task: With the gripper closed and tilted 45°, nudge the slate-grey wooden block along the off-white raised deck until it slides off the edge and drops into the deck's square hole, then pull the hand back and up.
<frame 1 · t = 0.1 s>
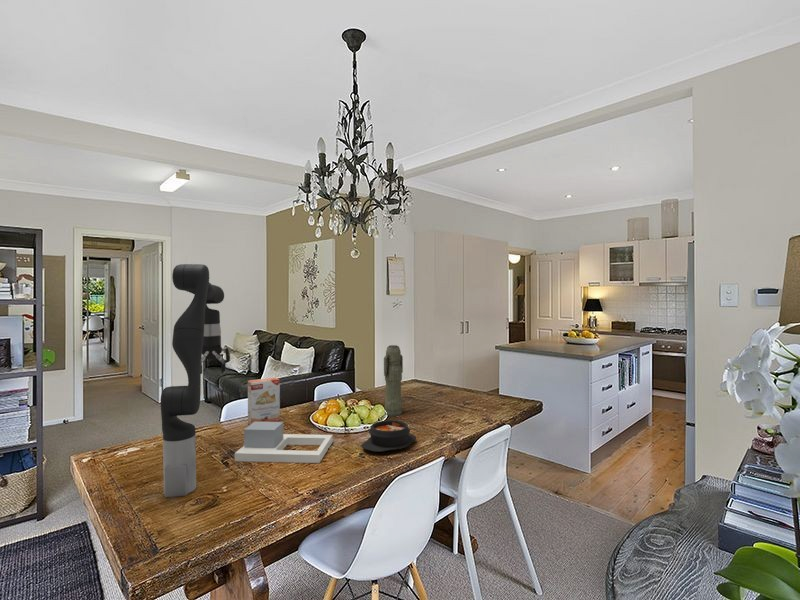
hand: (212, 373, 179), 29 cm above the table, tool pointing down, fingers open, 8 cm apart
cracker box: (264, 422, 206), on the table
slate block: (264, 443, 169), point 3 cm above the table, touching hole deck
casserole: (389, 446, 174), on the table
stone statue: (393, 413, 220), on the table
hole deck: (291, 451, 169), on the table
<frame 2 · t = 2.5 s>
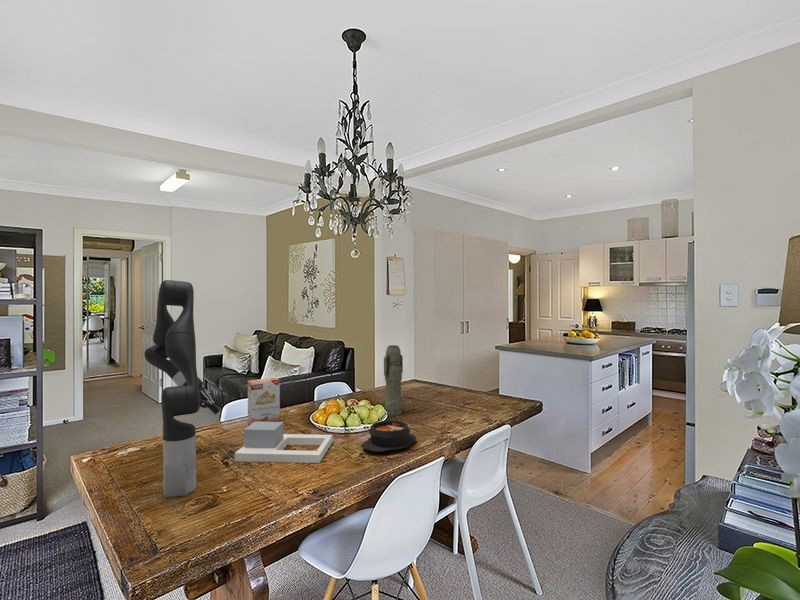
hand: (218, 412, 170), 15 cm above the table, tool tilted 45°, fingers closed
nothing on the table moved.
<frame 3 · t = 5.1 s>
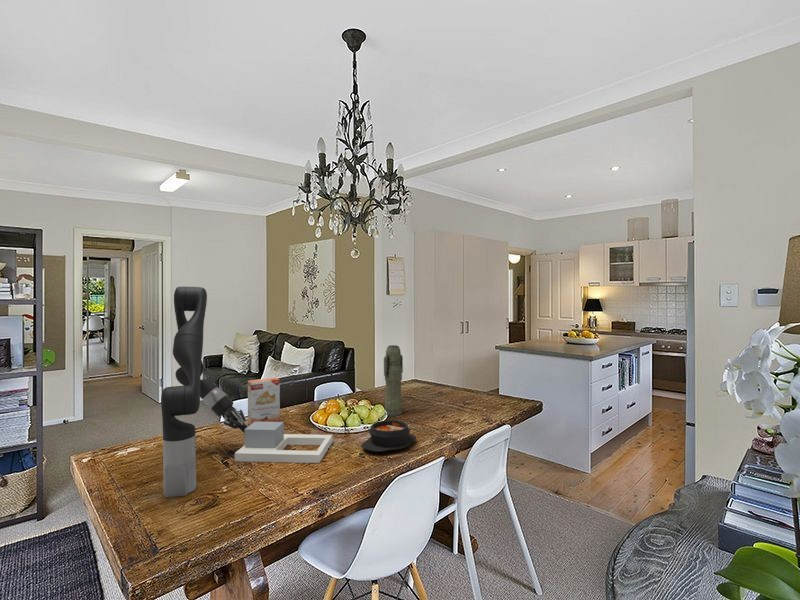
hand: (248, 432, 170), 7 cm above the table, tool tilted 45°, fingers closed
slate block: (264, 443, 169), point 3 cm above the table, touching gripper, hole deck
everything else where it was.
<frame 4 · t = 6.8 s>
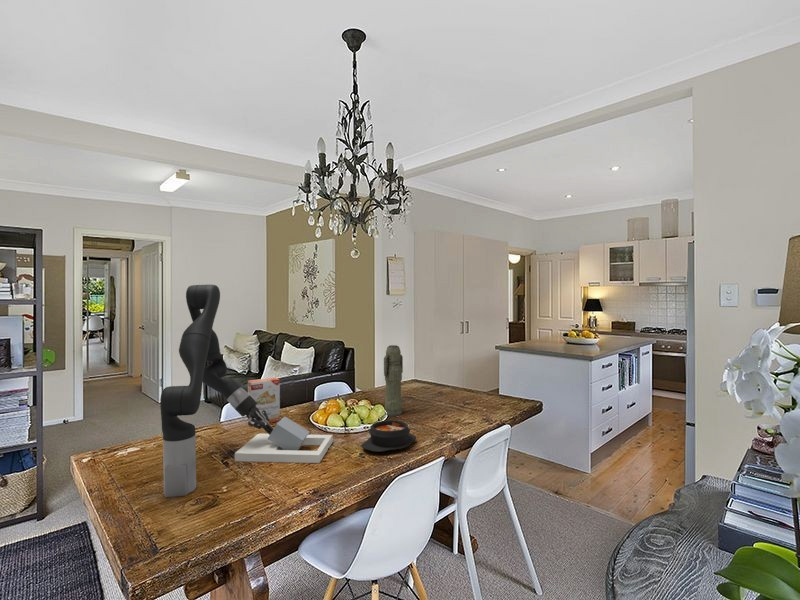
hand: (272, 432, 169), 7 cm above the table, tool tilted 45°, fingers closed
slate block: (284, 442, 169), point 3 cm above the table, tilted 31°, touching gripper
everything else where it was.
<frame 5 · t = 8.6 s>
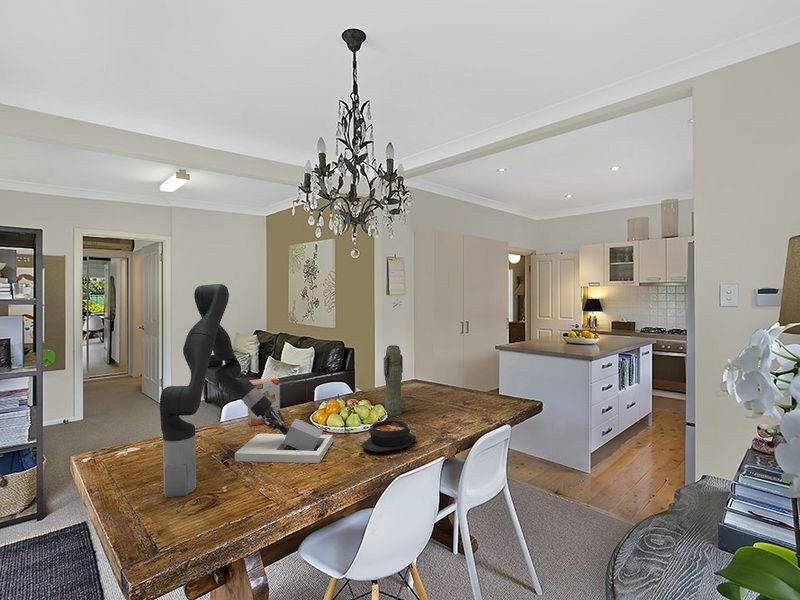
hand: (287, 433, 169), 7 cm above the table, tool tilted 45°, fingers closed
slate block: (300, 444, 170), point 2 cm above the table, tilted 25°, touching gripper
everything else where it was.
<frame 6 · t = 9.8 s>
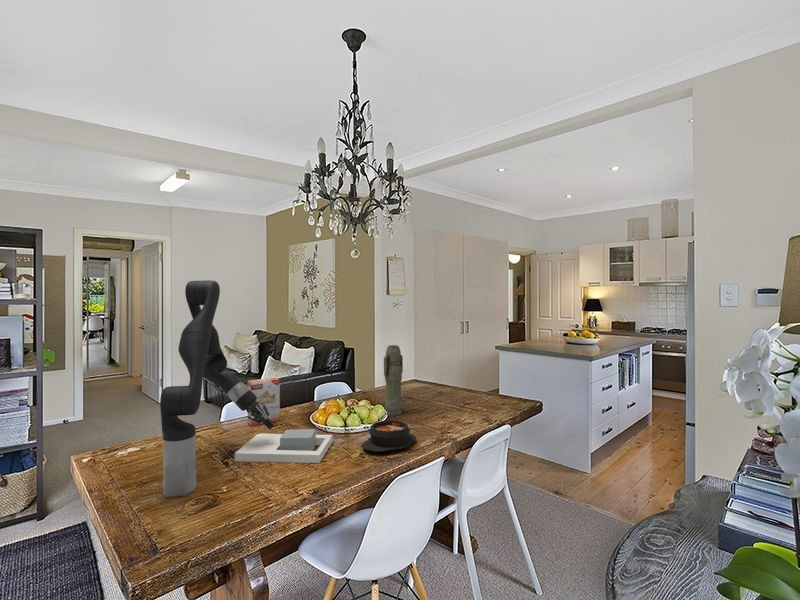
hand: (272, 427, 169), 9 cm above the table, tool tilted 45°, fingers closed
slate block: (298, 451, 169), resting in hole deck
everything else where it was.
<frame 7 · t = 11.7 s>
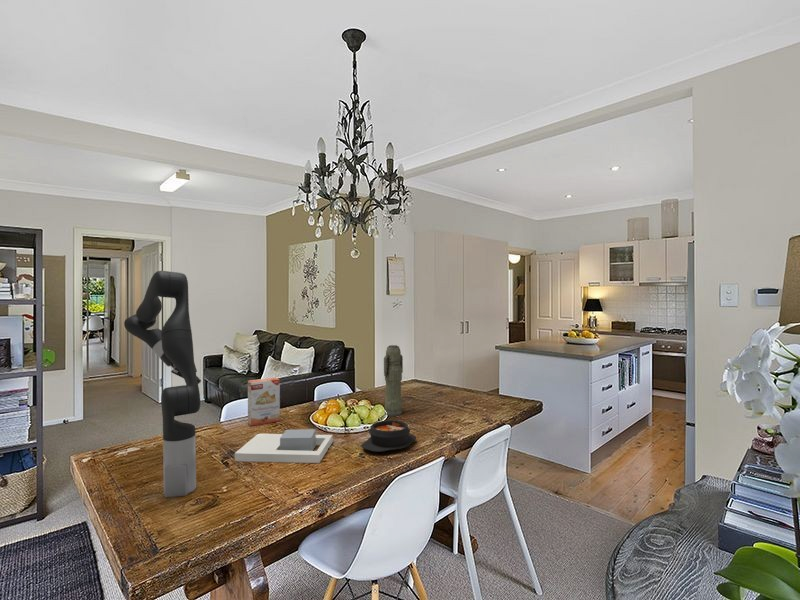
hand: (198, 383, 168), 27 cm above the table, tool tilted 45°, fingers closed
nothing on the table moved.
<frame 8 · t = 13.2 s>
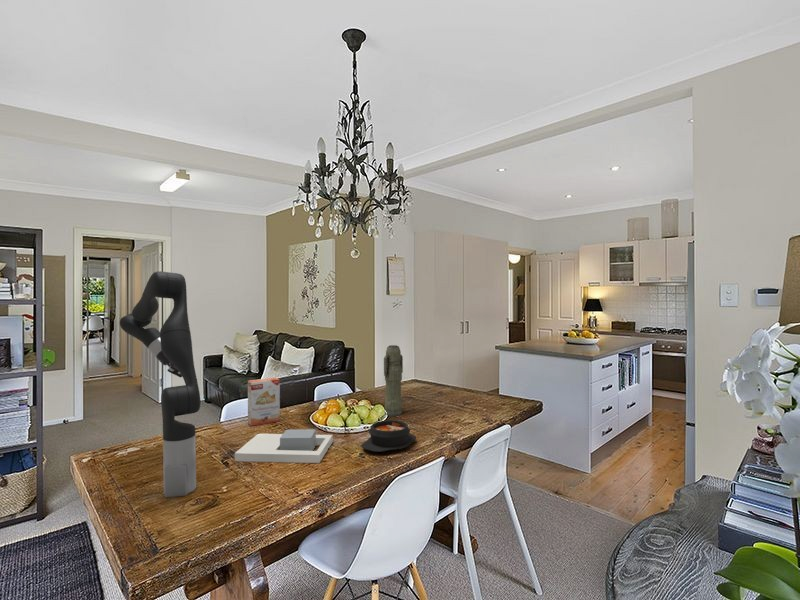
hand: (194, 381, 167), 28 cm above the table, tool tilted 45°, fingers closed
nothing on the table moved.
at the end: slate block inside the target area on the hole deck (1.6 cm from its centre), point 0.0 cm above the hole deck's base; slate block moved 13.9 cm from its start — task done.
